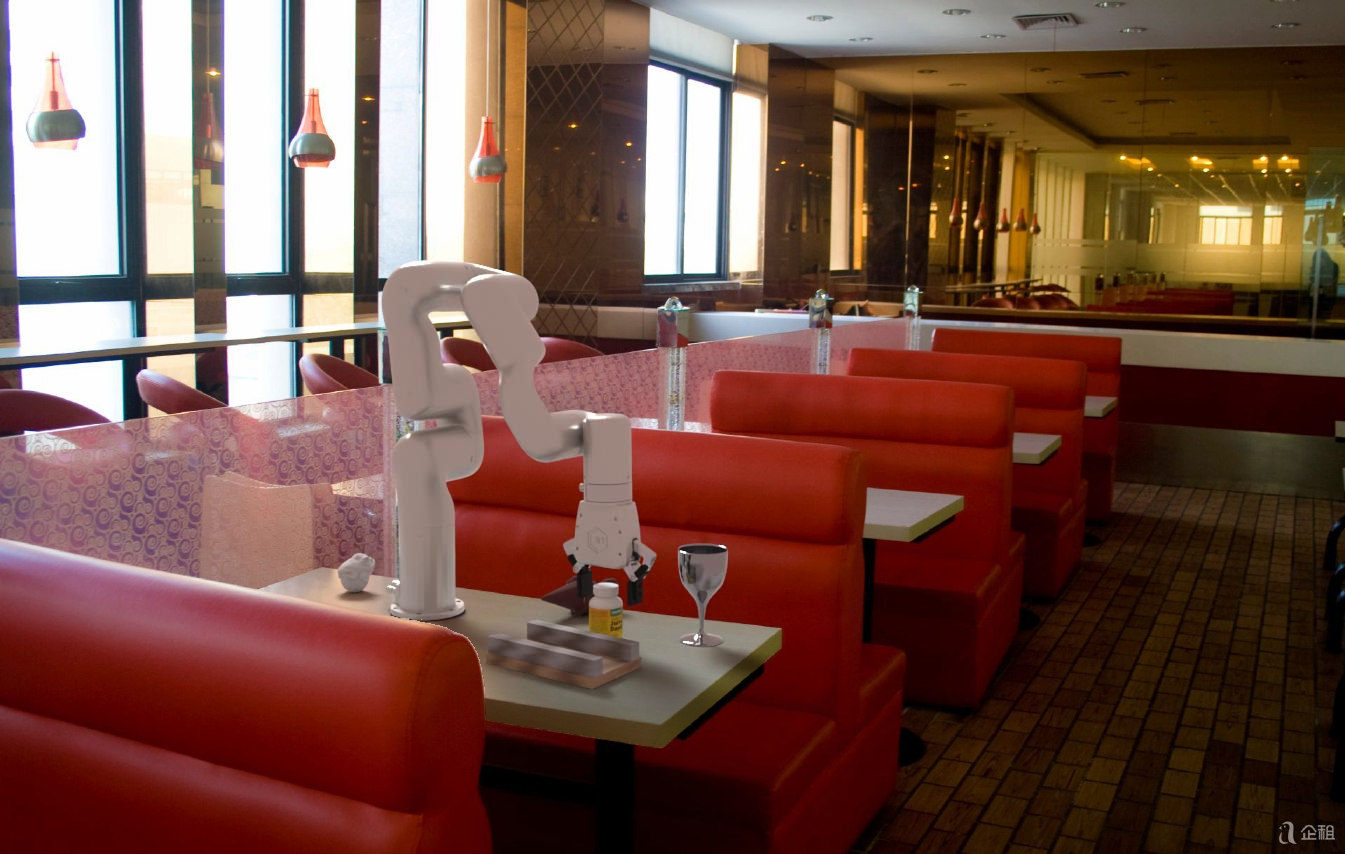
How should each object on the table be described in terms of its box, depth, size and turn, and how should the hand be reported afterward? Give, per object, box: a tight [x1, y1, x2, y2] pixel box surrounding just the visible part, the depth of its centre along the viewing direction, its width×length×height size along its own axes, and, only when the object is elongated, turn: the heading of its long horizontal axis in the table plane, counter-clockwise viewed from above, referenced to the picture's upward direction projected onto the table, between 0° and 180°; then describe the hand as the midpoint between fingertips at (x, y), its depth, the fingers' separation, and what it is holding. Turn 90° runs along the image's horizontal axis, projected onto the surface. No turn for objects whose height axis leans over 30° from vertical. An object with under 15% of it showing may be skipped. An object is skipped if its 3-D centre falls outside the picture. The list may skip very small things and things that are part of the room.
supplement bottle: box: [588, 582, 624, 638], centre depth 189 cm, size 5×5×10 cm
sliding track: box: [485, 619, 642, 690], centre depth 179 cm, size 20×12×4 cm, turn 57°
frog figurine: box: [337, 552, 376, 593], centre depth 219 cm, size 6×7×7 cm
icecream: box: [540, 575, 619, 617], centre depth 206 cm, size 7×7×15 cm
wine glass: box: [677, 542, 729, 648], centre depth 192 cm, size 8×8×15 cm
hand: (609, 600), depth 188 cm, fingers open, 9 cm apart
